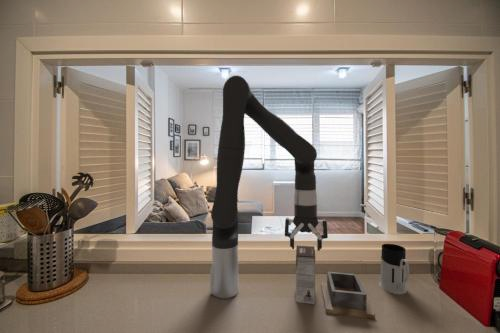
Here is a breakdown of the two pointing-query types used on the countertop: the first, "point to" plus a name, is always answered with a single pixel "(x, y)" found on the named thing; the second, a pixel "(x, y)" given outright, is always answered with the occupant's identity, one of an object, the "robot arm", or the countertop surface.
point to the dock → (345, 295)
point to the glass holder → (393, 269)
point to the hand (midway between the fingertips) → (305, 249)
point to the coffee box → (305, 274)
